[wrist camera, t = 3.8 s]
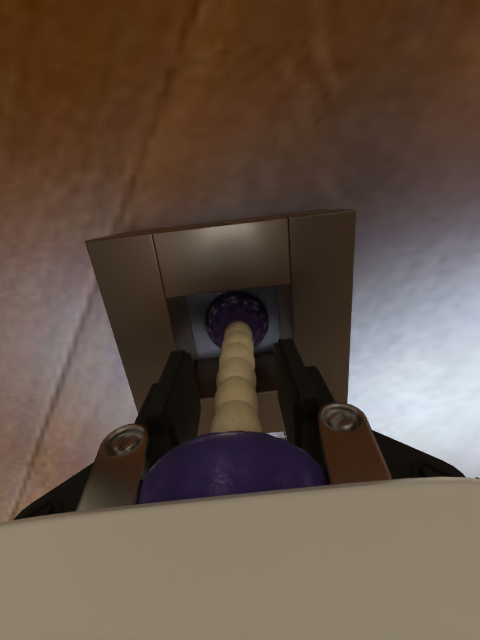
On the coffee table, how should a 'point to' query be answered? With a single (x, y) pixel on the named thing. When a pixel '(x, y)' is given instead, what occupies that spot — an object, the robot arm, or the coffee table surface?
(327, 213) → the frame
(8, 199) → the coffee table surface
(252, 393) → the toy lamp
